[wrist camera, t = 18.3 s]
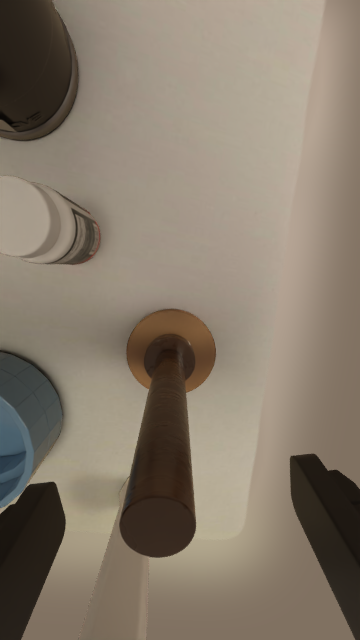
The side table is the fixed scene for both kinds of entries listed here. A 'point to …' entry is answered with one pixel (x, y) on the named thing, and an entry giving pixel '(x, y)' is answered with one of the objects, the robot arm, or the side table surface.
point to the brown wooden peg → (162, 457)
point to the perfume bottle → (119, 591)
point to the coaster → (179, 325)
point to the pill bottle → (44, 225)
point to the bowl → (24, 424)
